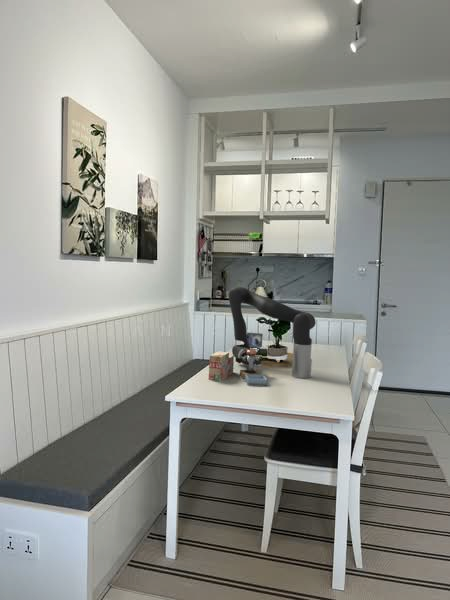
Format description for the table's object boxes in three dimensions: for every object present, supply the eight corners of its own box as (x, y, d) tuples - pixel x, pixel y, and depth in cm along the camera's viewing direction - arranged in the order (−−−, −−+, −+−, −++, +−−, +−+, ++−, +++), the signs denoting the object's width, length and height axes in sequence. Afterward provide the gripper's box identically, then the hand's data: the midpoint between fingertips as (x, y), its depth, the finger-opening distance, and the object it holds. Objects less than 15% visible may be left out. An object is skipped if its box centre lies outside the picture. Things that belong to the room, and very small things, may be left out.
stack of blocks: (222, 371, 252) (223, 348, 251) (233, 372, 250) (234, 349, 250) (208, 379, 232) (209, 354, 231) (220, 381, 230) (221, 356, 229)
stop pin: (253, 376, 243) (255, 349, 242) (255, 378, 238) (256, 351, 237) (244, 376, 242) (246, 349, 241) (246, 378, 238) (247, 351, 237)
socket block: (256, 375, 245) (257, 370, 245) (260, 380, 236) (260, 374, 236) (239, 375, 244) (240, 369, 244) (242, 379, 235) (242, 373, 235)
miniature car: (282, 363, 281) (283, 350, 280) (253, 360, 287) (254, 346, 286) (286, 361, 289) (286, 348, 288) (257, 357, 295) (258, 344, 295)
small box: (245, 348, 322) (246, 333, 321) (246, 347, 329) (247, 332, 328) (261, 350, 320) (262, 334, 320) (261, 348, 327) (262, 333, 326)
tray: (263, 380, 235) (263, 374, 235) (266, 385, 226) (267, 379, 226) (244, 380, 234) (245, 374, 234) (247, 385, 225) (248, 379, 225)
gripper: (233, 349, 253) (237, 355, 236) (259, 349, 254) (266, 356, 238) (232, 363, 253) (236, 370, 236) (258, 363, 255) (265, 371, 238)
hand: (251, 363), depth 237 cm, fingers open, 5 cm apart
